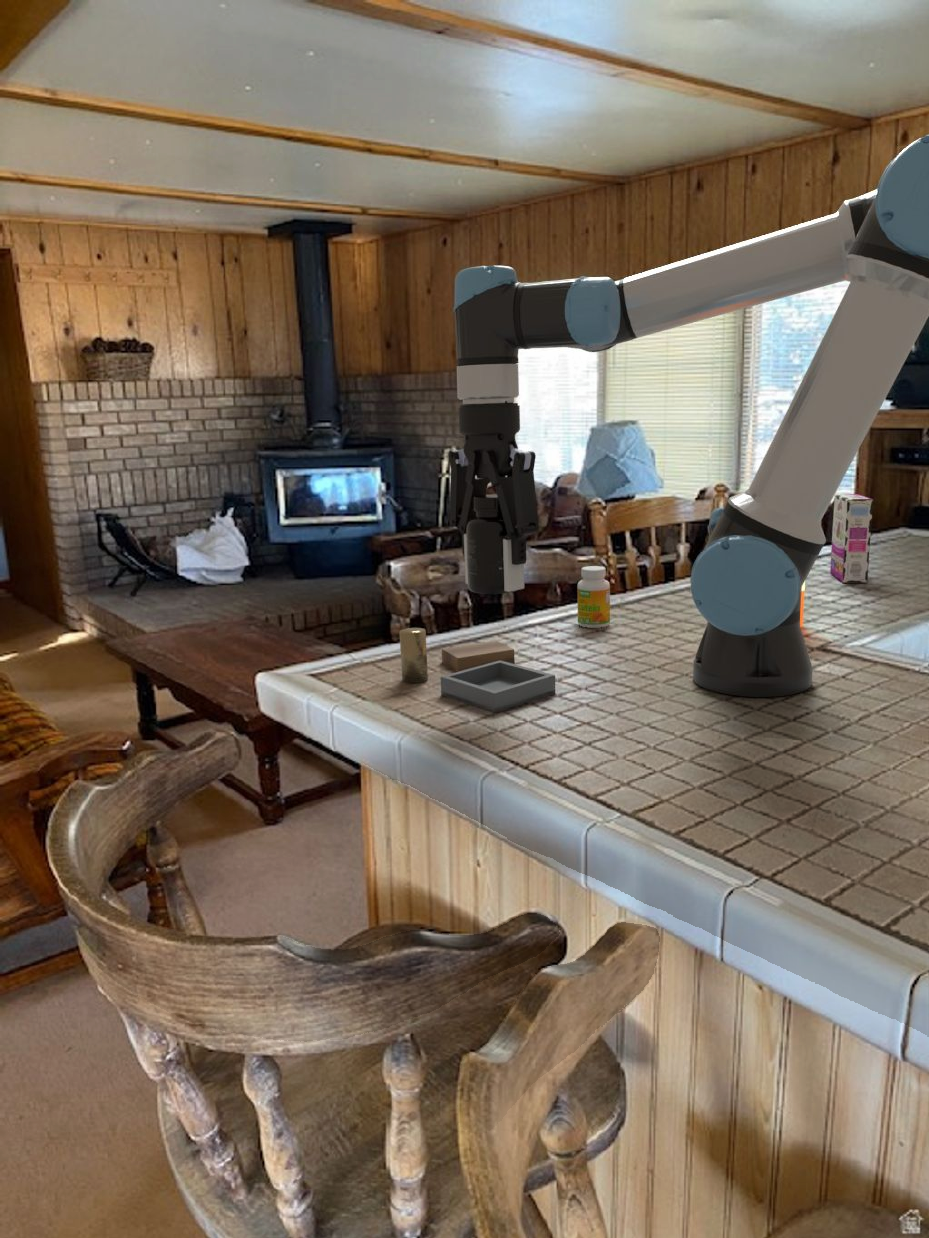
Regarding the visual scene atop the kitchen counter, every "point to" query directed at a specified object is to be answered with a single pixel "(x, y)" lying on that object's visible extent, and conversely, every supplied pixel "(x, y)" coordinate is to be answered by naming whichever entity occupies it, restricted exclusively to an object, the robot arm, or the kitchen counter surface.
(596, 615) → the supplement bottle
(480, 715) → the kitchen counter surface
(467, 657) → the tan cardboard box
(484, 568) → the supplement bottle
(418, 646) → the cylinder
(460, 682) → the tray
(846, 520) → the candy bar box
